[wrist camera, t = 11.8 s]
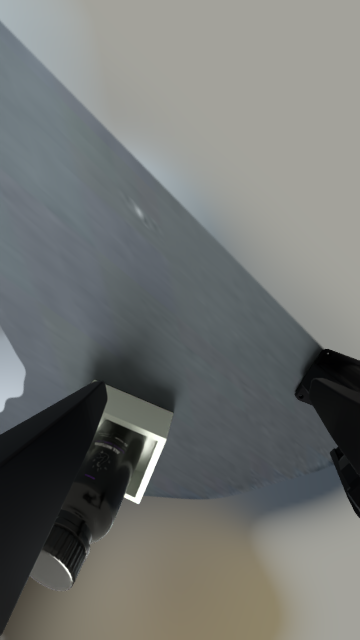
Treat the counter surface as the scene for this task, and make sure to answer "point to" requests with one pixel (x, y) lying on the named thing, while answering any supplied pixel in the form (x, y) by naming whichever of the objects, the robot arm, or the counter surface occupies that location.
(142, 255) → the counter surface
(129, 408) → the sage tray
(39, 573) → the supplement bottle
